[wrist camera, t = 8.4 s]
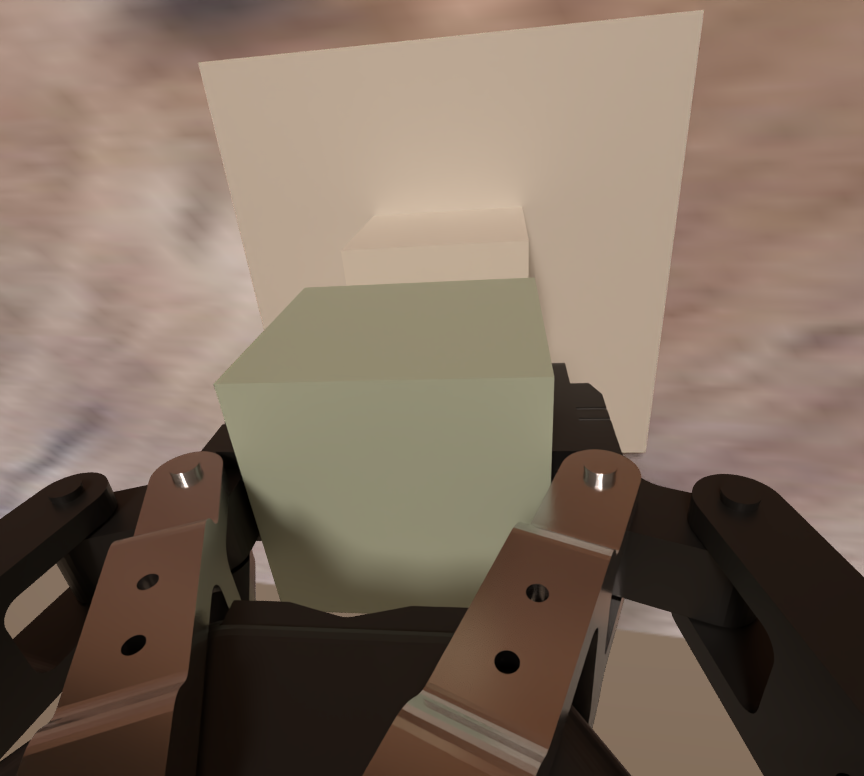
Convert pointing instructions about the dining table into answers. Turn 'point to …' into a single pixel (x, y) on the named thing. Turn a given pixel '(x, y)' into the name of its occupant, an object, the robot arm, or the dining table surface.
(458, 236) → the beige block
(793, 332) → the dining table surface
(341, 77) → the baseplate
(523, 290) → the sage block
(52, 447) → the dining table surface
